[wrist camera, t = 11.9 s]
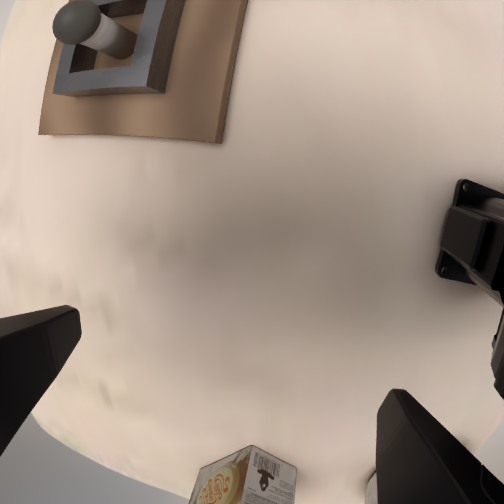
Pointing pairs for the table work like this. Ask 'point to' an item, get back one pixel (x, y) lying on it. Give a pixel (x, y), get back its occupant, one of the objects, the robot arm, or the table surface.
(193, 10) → the square knob plate
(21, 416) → the robot arm
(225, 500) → the coffee box
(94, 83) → the metal link
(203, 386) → the table surface
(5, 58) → the table surface
